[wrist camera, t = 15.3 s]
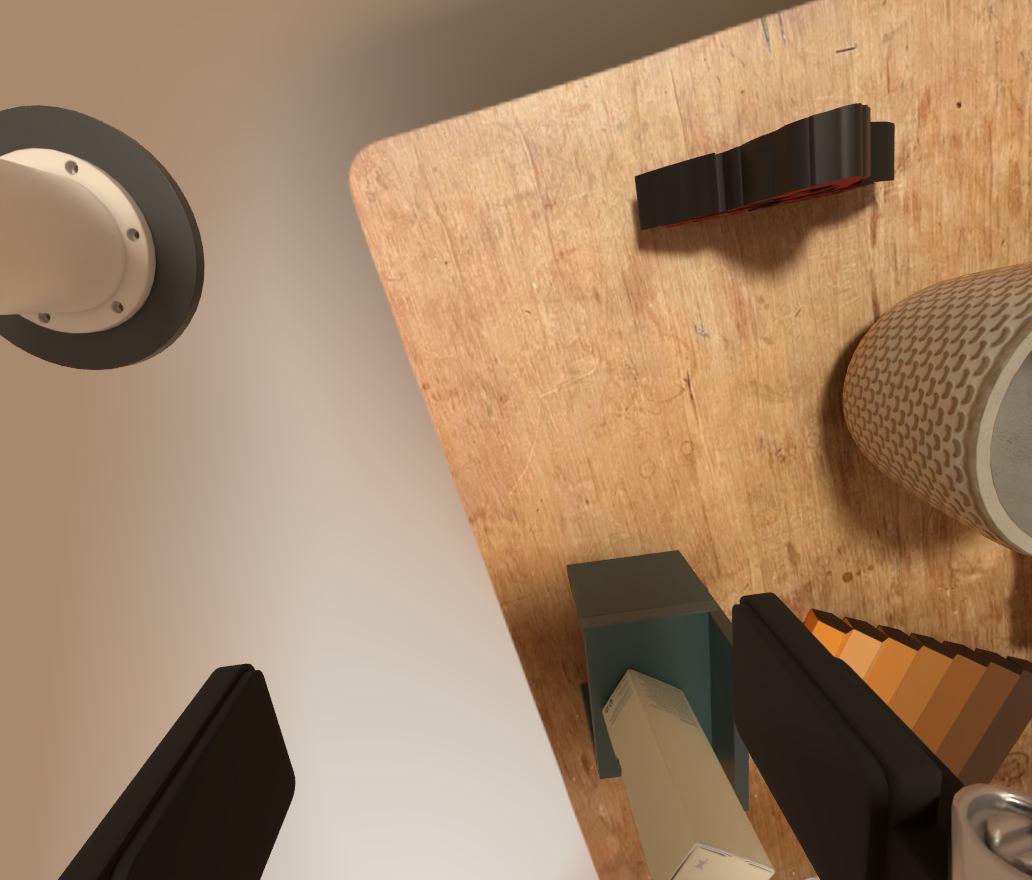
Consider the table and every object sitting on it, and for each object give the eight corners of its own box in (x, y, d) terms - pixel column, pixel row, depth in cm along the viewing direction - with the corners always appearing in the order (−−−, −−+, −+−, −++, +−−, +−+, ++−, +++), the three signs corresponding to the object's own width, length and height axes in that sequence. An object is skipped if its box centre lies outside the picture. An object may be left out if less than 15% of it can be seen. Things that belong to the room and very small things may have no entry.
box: (599, 709, 39) (648, 901, 26) (628, 664, 38) (694, 842, 26) (658, 733, 40) (733, 930, 27) (688, 689, 39) (780, 874, 26)
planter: (1025, 419, 44) (1316, 486, 28) (833, 508, 45) (1009, 618, 30) (980, 223, 39) (1294, 176, 24) (768, 329, 41) (935, 348, 25)
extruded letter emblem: (870, 135, 37) (1024, 69, 27) (871, 186, 38) (1018, 143, 27) (626, 184, 37) (679, 139, 27) (632, 234, 38) (685, 210, 28)
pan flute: (914, 849, 57) (1033, 662, 51) (940, 883, 53) (1070, 687, 47) (706, 810, 54) (804, 606, 48) (719, 843, 51) (827, 629, 44)
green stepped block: (581, 694, 49) (610, 830, 37) (566, 564, 46) (594, 666, 33) (684, 680, 49) (749, 811, 37) (678, 549, 46) (748, 645, 33)
